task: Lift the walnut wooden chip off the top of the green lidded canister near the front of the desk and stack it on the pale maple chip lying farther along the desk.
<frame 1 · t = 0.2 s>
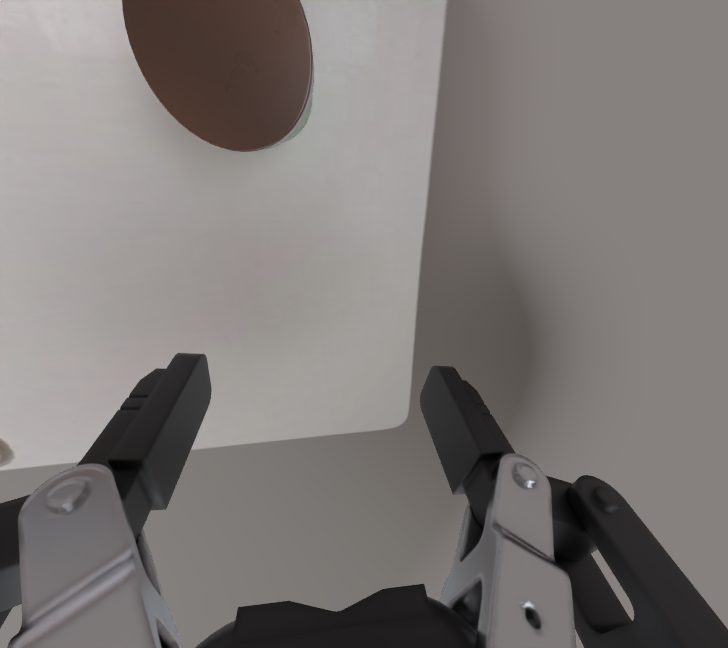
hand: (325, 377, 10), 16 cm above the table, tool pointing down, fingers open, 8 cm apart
walnut chip: (240, 64, 12), point 7 cm above the table, touching green lidded canister
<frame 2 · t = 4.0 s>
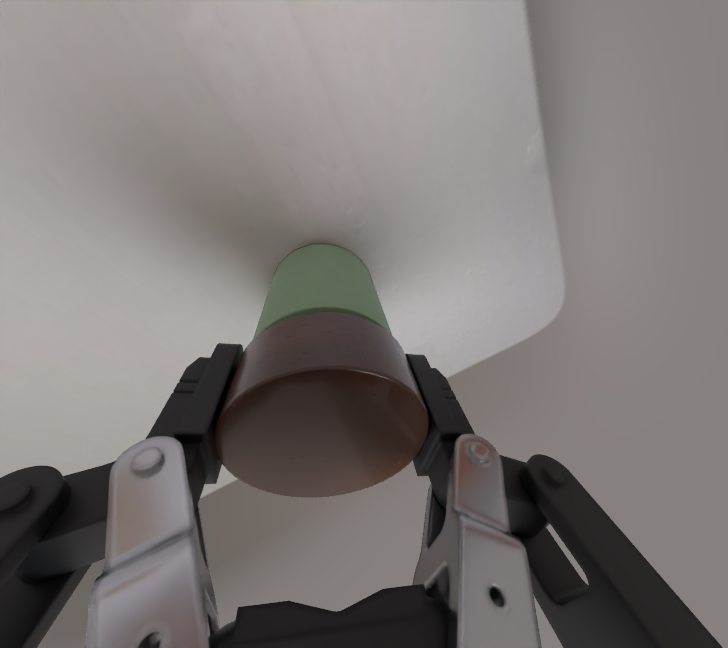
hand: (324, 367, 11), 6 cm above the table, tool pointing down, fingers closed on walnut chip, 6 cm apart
green lidded canister: (323, 292, 16), on the table
walnut chip: (326, 382, 10), point 7 cm above the table, touching gripper, green lidded canister
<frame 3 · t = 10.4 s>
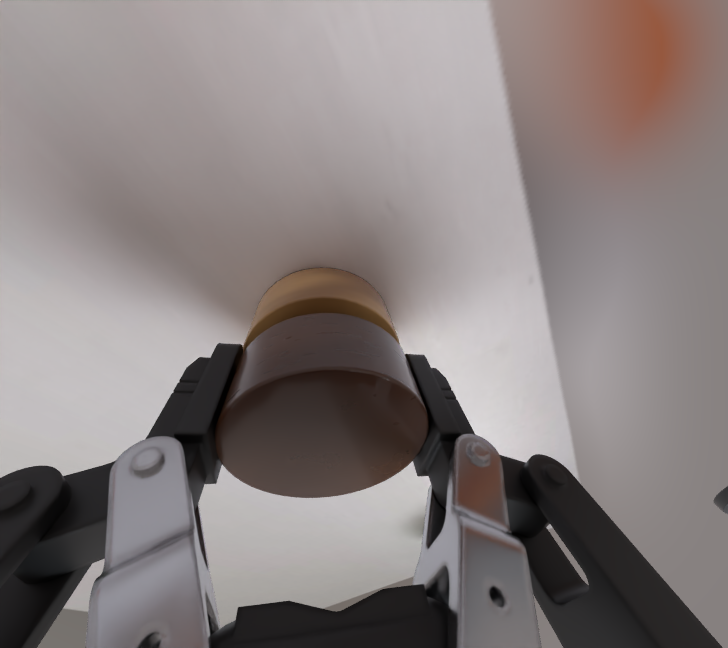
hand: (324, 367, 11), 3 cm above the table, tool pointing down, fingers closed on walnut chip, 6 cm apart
maple chip: (323, 329, 13), on the table
walnut chip: (326, 383, 10), point 3 cm above the table, touching gripper
when the fingers open (3 cm above the table, at t = 18.1 s): walnut chip drops 2 cm, resting on maple chip.
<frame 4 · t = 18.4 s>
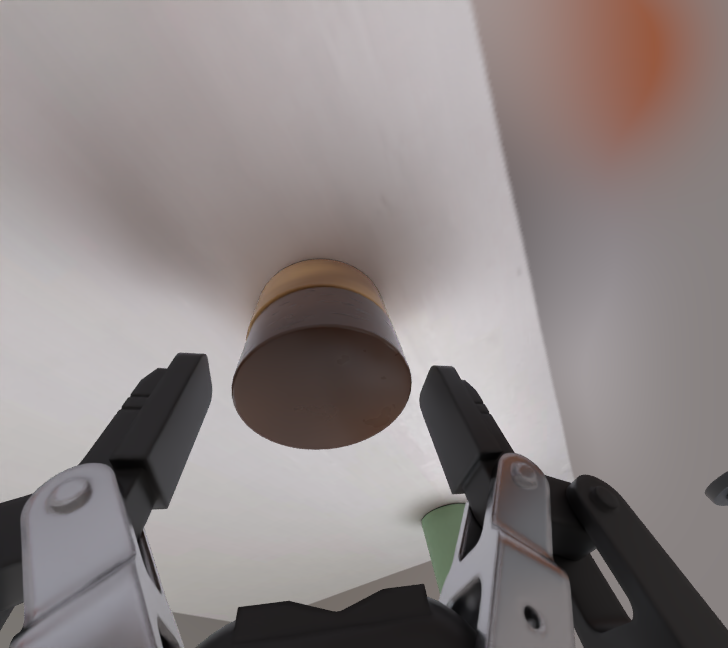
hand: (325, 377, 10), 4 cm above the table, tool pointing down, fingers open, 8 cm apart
green lidded canister: (447, 516, 29), on the table
maple chip: (322, 317, 14), on the table, touching walnut chip
walnut chip: (324, 351, 12), point 2 cm above the table, touching maple chip
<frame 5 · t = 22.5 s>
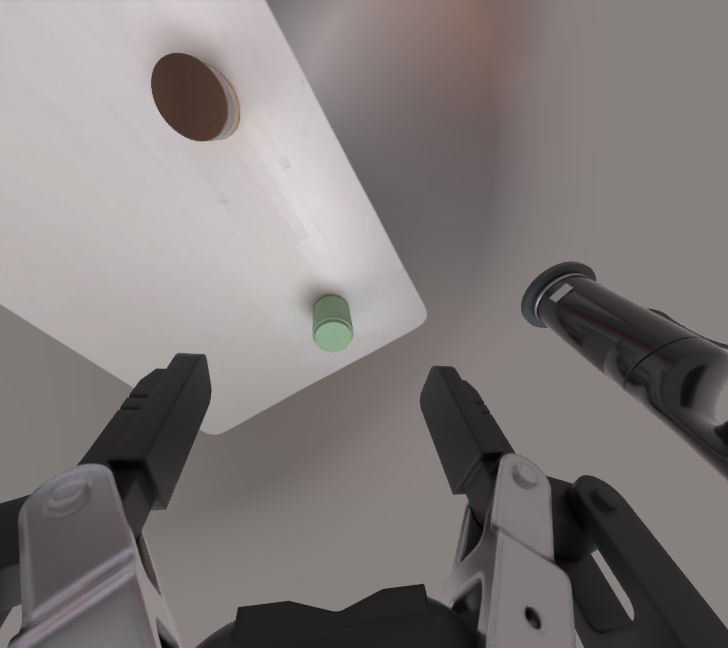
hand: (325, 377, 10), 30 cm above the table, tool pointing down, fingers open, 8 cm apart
green lidded canister: (331, 311, 44), on the table
maple chip: (208, 104, 28), on the table, touching walnut chip
walnut chip: (200, 102, 26), point 2 cm above the table, touching maple chip
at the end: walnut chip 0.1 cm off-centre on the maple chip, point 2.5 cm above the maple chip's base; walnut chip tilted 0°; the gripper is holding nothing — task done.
